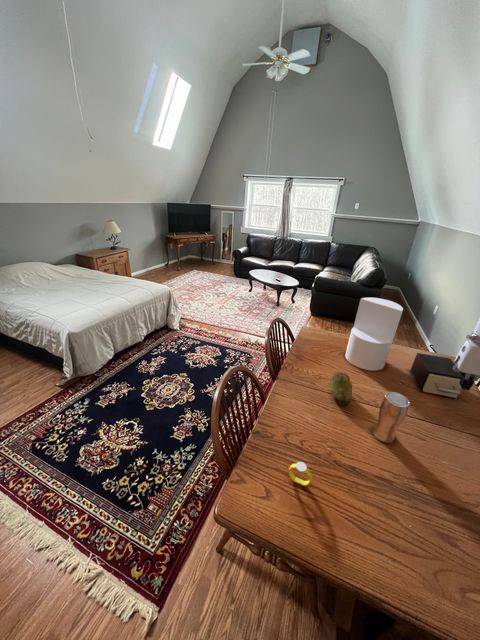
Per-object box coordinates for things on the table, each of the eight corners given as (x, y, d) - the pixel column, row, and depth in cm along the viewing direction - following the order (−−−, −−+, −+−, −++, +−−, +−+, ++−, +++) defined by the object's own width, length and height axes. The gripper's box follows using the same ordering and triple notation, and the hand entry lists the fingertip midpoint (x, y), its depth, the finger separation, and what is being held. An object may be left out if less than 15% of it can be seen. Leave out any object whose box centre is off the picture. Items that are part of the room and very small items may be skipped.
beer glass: (391, 448, 82) (407, 411, 75) (368, 435, 86) (381, 398, 79) (398, 435, 86) (413, 399, 80) (375, 423, 90) (388, 388, 84)
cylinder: (355, 346, 137) (369, 294, 125) (390, 361, 126) (409, 306, 114) (338, 358, 126) (351, 303, 115) (375, 375, 115) (393, 316, 103)
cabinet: (456, 398, 104) (466, 378, 100) (419, 391, 107) (428, 371, 103) (442, 376, 116) (450, 358, 112) (410, 371, 119) (417, 352, 115)
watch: (311, 482, 71) (314, 467, 68) (308, 491, 68) (312, 476, 66) (289, 471, 73) (292, 456, 71) (286, 480, 71) (288, 465, 68)
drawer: (461, 406, 99) (470, 389, 96) (427, 399, 101) (434, 382, 98) (443, 378, 114) (450, 362, 111) (413, 372, 117) (419, 357, 113)
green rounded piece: (325, 402, 98) (329, 385, 95) (330, 383, 109) (334, 367, 106) (348, 410, 95) (353, 393, 92) (351, 389, 106) (356, 373, 102)
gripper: (463, 342, 82) (443, 390, 89) (523, 350, 78) (496, 399, 86) (453, 331, 88) (435, 377, 96) (508, 338, 85) (484, 385, 92)
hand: (464, 387), depth 91 cm, fingers closed
